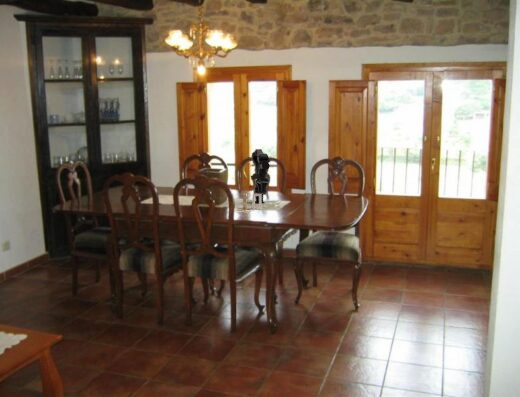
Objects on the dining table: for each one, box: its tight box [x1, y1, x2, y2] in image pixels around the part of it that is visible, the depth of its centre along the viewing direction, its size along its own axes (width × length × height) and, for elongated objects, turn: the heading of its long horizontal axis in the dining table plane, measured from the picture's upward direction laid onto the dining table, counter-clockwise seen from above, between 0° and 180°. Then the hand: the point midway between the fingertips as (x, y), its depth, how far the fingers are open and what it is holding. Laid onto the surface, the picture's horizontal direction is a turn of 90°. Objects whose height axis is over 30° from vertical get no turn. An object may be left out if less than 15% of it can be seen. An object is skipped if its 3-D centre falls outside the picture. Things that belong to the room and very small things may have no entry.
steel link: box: [252, 193, 262, 210], centre depth 395 cm, size 2×6×12 cm, turn 74°
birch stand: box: [234, 193, 253, 213], centre depth 389 cm, size 11×10×13 cm
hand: (260, 192), depth 406 cm, fingers open, 9 cm apart
